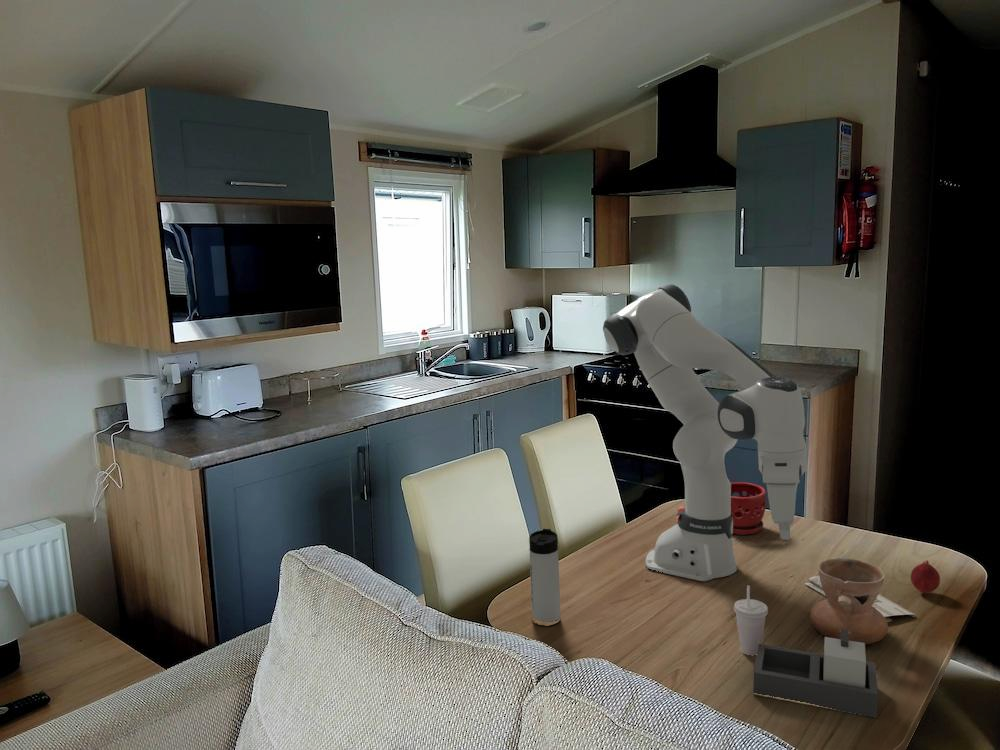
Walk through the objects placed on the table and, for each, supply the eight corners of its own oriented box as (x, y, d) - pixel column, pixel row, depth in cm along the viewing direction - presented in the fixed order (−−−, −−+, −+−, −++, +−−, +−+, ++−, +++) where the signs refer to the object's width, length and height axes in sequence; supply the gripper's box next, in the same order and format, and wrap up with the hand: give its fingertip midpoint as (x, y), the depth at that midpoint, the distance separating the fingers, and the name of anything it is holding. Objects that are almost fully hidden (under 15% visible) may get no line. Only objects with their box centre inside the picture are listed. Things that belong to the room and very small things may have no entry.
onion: (943, 600, 168) (945, 566, 166) (914, 598, 169) (916, 565, 167) (933, 588, 173) (935, 555, 172) (906, 587, 174) (908, 554, 173)
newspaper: (801, 586, 179) (802, 575, 178) (845, 583, 182) (846, 573, 182) (870, 630, 157) (871, 619, 157) (918, 626, 160) (920, 615, 160)
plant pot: (719, 519, 222) (720, 480, 220) (767, 523, 217) (767, 483, 215) (713, 535, 210) (713, 494, 208) (763, 540, 205) (764, 498, 203)
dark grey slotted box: (753, 695, 136) (754, 643, 134) (761, 649, 151) (762, 603, 149) (876, 718, 128) (879, 664, 126) (872, 668, 143) (874, 619, 141)
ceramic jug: (882, 662, 144) (886, 593, 142) (802, 643, 152) (805, 577, 150) (891, 623, 159) (895, 559, 157) (818, 608, 167) (821, 547, 165)
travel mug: (563, 614, 169) (561, 529, 166) (556, 628, 163) (553, 540, 160) (537, 611, 171) (533, 527, 168) (528, 625, 165) (525, 538, 162)
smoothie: (728, 644, 153) (729, 579, 151) (759, 641, 154) (760, 577, 152) (741, 661, 147) (741, 594, 145) (772, 658, 148) (774, 591, 145)
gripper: (768, 446, 156) (772, 509, 159) (761, 477, 138) (766, 548, 140) (800, 445, 154) (804, 510, 156) (798, 477, 136) (802, 550, 138)
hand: (786, 528), depth 148 cm, fingers open, 8 cm apart
